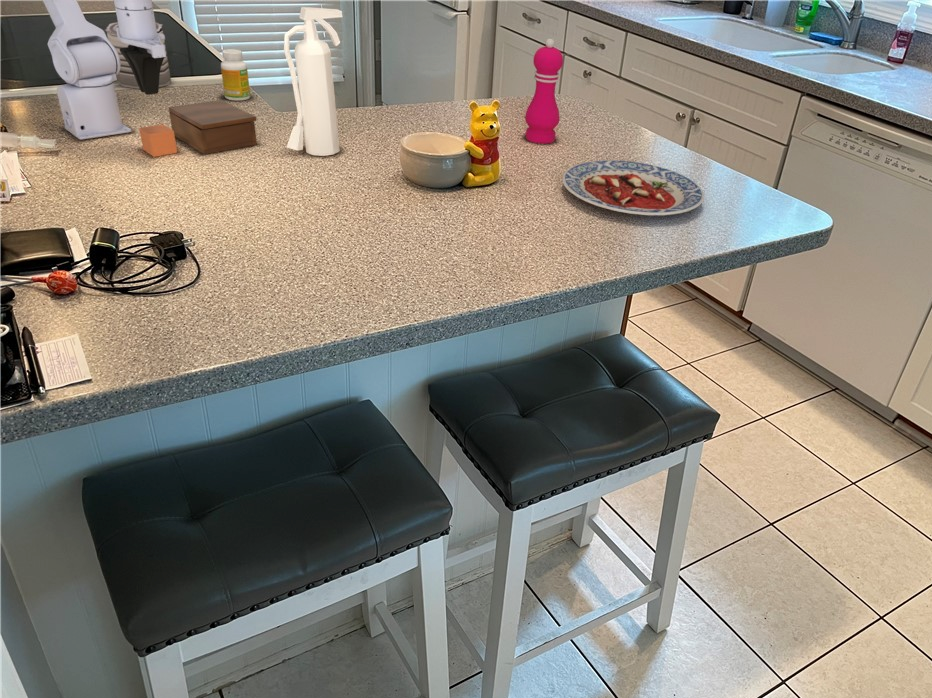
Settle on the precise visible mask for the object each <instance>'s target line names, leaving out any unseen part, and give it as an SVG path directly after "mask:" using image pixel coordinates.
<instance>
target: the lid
mask: <svg viewBox="0 0 932 698" xmlns="http://www.w3.org/2000/svg"><path fill="white" fill-rule="evenodd" d="M168 112H171V113H173V114H175V115H177V116H179V117H180V118H182V119H184V120H186V121H188V122H190V123H192V124H193V125H195V126H197V127H199V128H201V129H208V128H215V127H221V126H227V125H233V124H239V123H245V122H252V121H254V122H256V121H257V116H256V115H254V114H252V113H249V112H248V111H246V110H243V109H241V108H239V107H237V106H235V105H233V104H230V103H228V102H227V101H224V100H222V99H217V100H210V101H204V102H196V103H189V104H180V105H175V106H168Z"/></svg>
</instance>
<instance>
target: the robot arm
mask: <svg viewBox="0 0 932 698" xmlns="http://www.w3.org/2000/svg"><path fill="white" fill-rule="evenodd" d="M42 2H43V5H44V6H45V9H46V11H47V13H48V14H49V17H50V19H51V21H52V23H53V25H54V27H55V29H54V30H53V32H52V34H51V35H50V36H49V38H48V42H47V47H48V49H49V52H50V55H51V59H52V64H53V67H54V69H55V71H56V73H57V75H58V76H59V78H61V79H62V80H63V81H64V82H65V83H66V84H61V85H58V86H57V88H56V94H57V100H58V104H59V107H60V112H61V115H62V119H63V123H64V130H66V131H68V133H70V134H71V135H73V136H74V137H75V138H77V139H78V140H88V139H94V138H101V137H107V136H114V135H121V134H128V133H131V132H132V129H131V128H130V127H128V126H127V125H125V124H124V123H123V121H122V116H121V111H120V107H119V101H118V97H117V92H116V87H115V83H114V82H117V78H116V75H117V74H118V73H119V71H120V66H121V63H120V57H119V55H118V52H117V50H116V49H115V47H114V46H113V45H112V44H111V43H110V41H109V40H108V36H107V34H106V32H105V30H103V29H102V28H100V27H99V26H97V25H95V24H94V23H91V22H89V21H87V19H86V18H85V16H84V13H83V11H82V9H81V7H80V4H79V2H78V0H42ZM113 5H114V9H115V14H116V19H117V22H118V25H119V27H118V28H116V32H117V37H118V40H120V41H121V42H122V43H125V44H129V46H128V47H126V48H120V52H121V54H122V55H123V56H124V58H125V59H126V61H127V62H128V64H129V66H130V68H131V70H132V72H133V74H134V76H135V79H136V81H137V84H138V86H139V88H140V89H139V90H140V92H141V93H144V94H145V95H147V96H148V95H149V96H150V95H155V94H156V95H157V94H159V90H160V87H159V76H160V69H161V65H162V62H163V60H164V58H165V57H166V53H167V51H166V52H165V47H166V45H165V46H164V45H163V44H162V43H161V41H160V40H164V41H165V40H166V35H165V34H164V33H163V34H161V33H157V29H156V23H155V22H156V17H155V11H154V5H153V0H113Z"/></svg>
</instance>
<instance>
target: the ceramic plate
mask: <svg viewBox="0 0 932 698" xmlns="http://www.w3.org/2000/svg"><path fill="white" fill-rule="evenodd" d="M561 179H562V184H563V186H564V187H565V189H566V190H567V191H568V192H569V193H570V194H571V195H574V196H575V197H576V198H578V199H580V200H582V201H584V202H586V203H589V204H592V205H594V206H595V207H599V208H603V209H607V210H610V211H614V212H619V213H624V214H631V215H640V216H670V215H671V216H672V215H678V214H682V213H687V212H690V211H692V210H694V209H696V208H698V207H700V205H701V204H702V203H703V202H704V199H705V193H704V191H703V189H702V188H701V187H700V186H699V185H698V183H696V182H695V181H693V180H692V179H690V178H688V177H687V176H685V175H683V174H681V173H678V172H676V171H673V170H670V169H667V168H665V167H661V166H657V165H654V164H649V163H644V162H637V161H629V160H627V161H626V160H617V159H616V160H615V159H614V160H612V159H609V160H608V159H607V160H604V159H603V160H592V161H587V162H582V163H579V164H578V163H577V164H576V165H573V166H571V167H569V168H568V169H566V171H564V172H563V174H562V177H561Z"/></svg>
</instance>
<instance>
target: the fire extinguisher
mask: <svg viewBox="0 0 932 698" xmlns="http://www.w3.org/2000/svg"><path fill="white" fill-rule="evenodd" d="M339 18H343V11H342V10H340V9H338V8H325V7H309V6H301V7H300V13H299V19H300V20H302V21H303V24H300V25H294V26H293V27H292V28H290V29H289V30H288V31H286V32H285V33H284V37H283V38H284V39H283V41H284V42H283V44H284V45H283V52H284V55H285V58H286V63H287V65H288V68H289V72H290V76H291V77H290V78H291V83H292V90H293V94H294V100H295V105H296V111H297V117H296V123H295V125H294V126H293V127H292V130H291V133H290V136H289V139H288V142H287V144H286V148H287V149H290V150H294V151H303V149H304V147H305V152H306V153H307V154H309V155H311V156H318V157H319V156H321V157H325V156H331V155H335V154H337V153H340V150H341V149H340V139H339V130H338V118H337V106H336V96H335V95H336V94H335V86H334V75H333V65H332V53H331V48H330V46H329V44H328V42H326V41H324V40H322V39H320V37H319V33H318V30H317V25H316V22H317V23H318V24H320V25H321V26H322V28H323V29H324V30H325V31H326V32H327V34H328V36H329V38H330V40H331V42H332V45H333V46H335V47H338V46H339V45H340V44H341V40H340V37H339V35H338V32H337V31H336V30H335V28H334V27H333V26H332V25H331V24H330V23H328V22H327V21H326V19H339ZM324 19H325V20H324ZM315 21H316V22H315ZM298 32H300V33H301V32H303V39H301V40H300V41H298V42H296V43H295V47H294V60H295V64H294V61H293V58H292V55H291V52H290V51H291V49H290V43H291V42H290V41H291V40H290V38H291V37H292V36H294V35H295V34H296V33H298ZM304 145H305V146H304Z"/></svg>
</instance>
